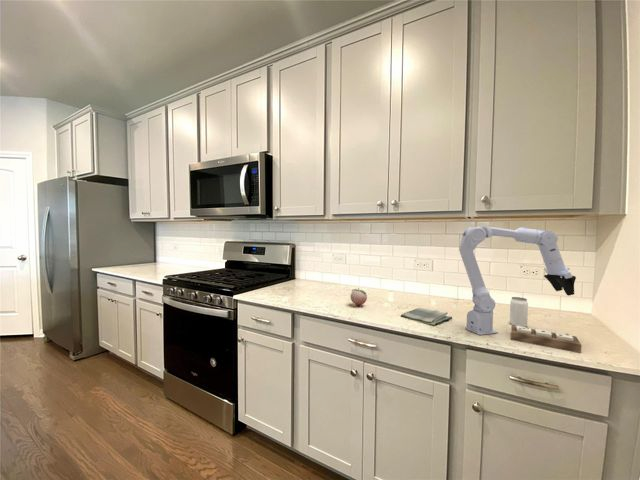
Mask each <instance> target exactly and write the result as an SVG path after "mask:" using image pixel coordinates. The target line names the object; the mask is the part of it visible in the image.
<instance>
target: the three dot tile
mask: <svg viewBox="0 0 640 480" xmlns="http://www.w3.org/2000/svg"><path fill="white" fill-rule="evenodd" d="M531 329H532V328H531V327H528V326H526V327H523V326H517V328H516V332H522V333H528V334H531Z"/></svg>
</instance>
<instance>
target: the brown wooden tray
mask: <svg viewBox="0 0 640 480" xmlns="http://www.w3.org/2000/svg"><path fill="white" fill-rule="evenodd" d="M516 328H517V326H513V325H511V330H510V340H511V341H516V342H522V343H527V344H531V343H532V345H536V346H543V347H547V348H548V347H549V348H553V349H559V350H563V351H569V352H574V353H582V344H581V342H580V340H579V339H578V337H577V336H576V335H572V337H573V338H574V339H573V341H568V340H562V339H556V338H555V332H552V331H551V334H552V338H551V337H545V336H539V335H535V329H536V328H535V329H533V328H531V334H528V333H522V332H516Z"/></svg>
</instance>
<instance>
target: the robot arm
mask: <svg viewBox="0 0 640 480" xmlns="http://www.w3.org/2000/svg"><path fill="white" fill-rule="evenodd" d="M491 237H503V238H513V239H514V241H515V242H518V243H526V244H532V245H534V244H536V245H537V246H538V248H539V252H540V255H541V257H542V260H543V262H544V266H545V268H544V271H545V273H546V274H544V275H543V277H544V278H545V279H546V281H548V282H549V283H550V284H551V286H552V287H553V289H554V290H555V292H560V291H564V293H565V294H566V295H567V297H568V296H573V295H575V282H576V279H577V277H576V276H575V275H573V274H572V273H571V271H569V270H571V268H570V267H567V266H565V263H564V260H563V258H562V255H561V252H560V249H559V246H558V244H557V242H558V240H559V237H558V235H556V234H555V232H553V231H551V230H541V228H536V229H534V228H533V229H532V228H528V227H527V226H522V227H518V228H516V229H515V230H514V229H509V228H502V227H495V226H475V227H474V226H470V227H468V228H466V229H465V230H464V232H463V233H462V234H461V240H460V243H459V246H458V250H459V251H458V252H459V255H460V257H461V260H462V263H463V265H464V269H465V272H466V274H467V277H468V280H469V282H470V286H471V288H472V289H471V292H472V302H473V304H474V306H473V308H472V309H471V310H469V311H468V312H467V314H466V327H465V329H466V330H468V331H470V332H472V333H475V334H477V335H480V336H481V335H492V334H498V333H499V331H497V330H494V327H493V324H494V309H495V307H496V302H495V300H494V298H493V297H492V296H491V295H490V293H489V291H488V289H487V287H486V285H485V281H484V279H483V276H482V273H481V270H480V267H479V264H478V261H477V259H476V256H475V253H474V251H475V249H476V247H477V246H478V245H479V244H481V243H482V242H483V241H485V239H486V238H491Z"/></svg>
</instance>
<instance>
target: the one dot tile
mask: <svg viewBox="0 0 640 480" xmlns="http://www.w3.org/2000/svg"><path fill="white" fill-rule="evenodd" d="M551 332H552V331H550V330H546V329H539V328H535V335H539V336H545V337H551V338H552V334H551Z"/></svg>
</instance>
